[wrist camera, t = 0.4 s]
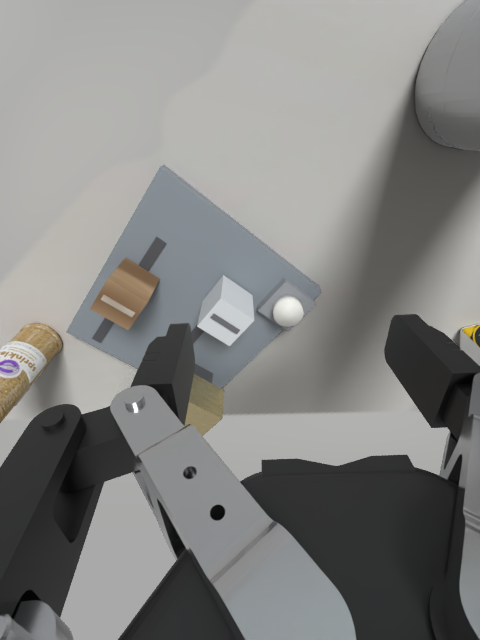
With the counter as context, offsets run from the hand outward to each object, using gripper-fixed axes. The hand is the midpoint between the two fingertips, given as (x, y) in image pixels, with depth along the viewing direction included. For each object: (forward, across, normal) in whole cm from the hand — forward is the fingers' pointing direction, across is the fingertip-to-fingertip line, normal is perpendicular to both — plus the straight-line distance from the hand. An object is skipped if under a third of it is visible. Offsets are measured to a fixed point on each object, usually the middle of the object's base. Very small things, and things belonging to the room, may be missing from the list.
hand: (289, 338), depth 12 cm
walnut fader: (+17, +12, +4) cm, 21 cm away
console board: (+19, +7, +8) cm, 22 cm away
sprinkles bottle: (+19, +25, +12) cm, 33 cm away
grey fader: (+17, +3, +6) cm, 18 cm away
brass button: (+15, +8, +17) cm, 24 cm away
